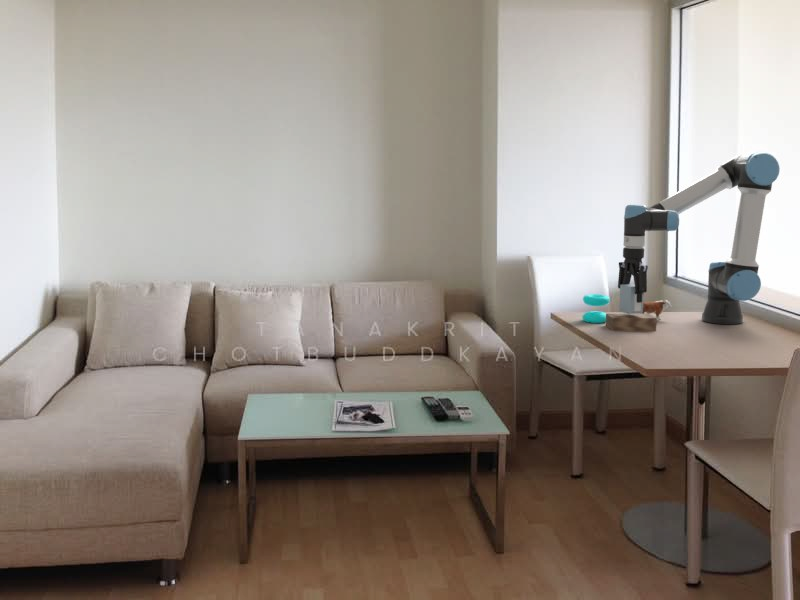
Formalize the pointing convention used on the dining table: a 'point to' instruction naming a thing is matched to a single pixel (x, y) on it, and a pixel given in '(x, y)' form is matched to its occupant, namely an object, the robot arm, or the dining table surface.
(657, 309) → the bull figurine
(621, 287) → the column
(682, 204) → the robot arm
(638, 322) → the plinth
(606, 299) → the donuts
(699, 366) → the dining table surface
